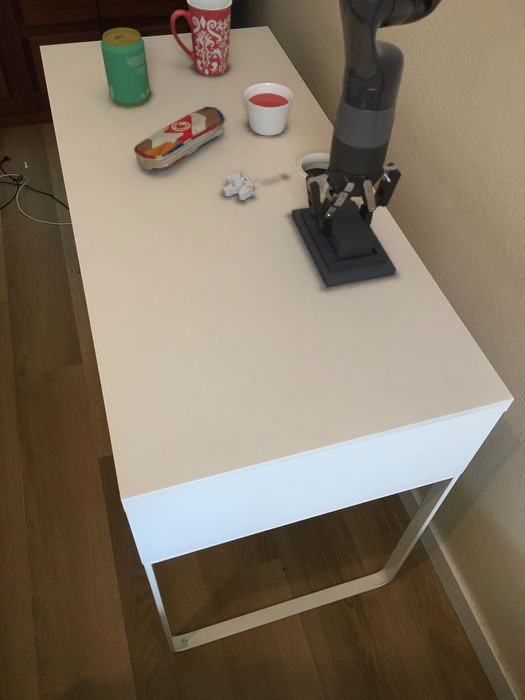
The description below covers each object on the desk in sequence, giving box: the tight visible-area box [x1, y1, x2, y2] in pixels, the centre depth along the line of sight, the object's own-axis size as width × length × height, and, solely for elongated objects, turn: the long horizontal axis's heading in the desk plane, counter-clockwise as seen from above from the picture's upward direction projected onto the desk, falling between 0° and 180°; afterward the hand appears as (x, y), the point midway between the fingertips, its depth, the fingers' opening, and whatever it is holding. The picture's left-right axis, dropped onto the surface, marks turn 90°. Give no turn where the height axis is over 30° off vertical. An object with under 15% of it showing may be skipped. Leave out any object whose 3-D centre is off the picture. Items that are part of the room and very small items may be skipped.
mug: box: [169, 0, 233, 77], centre depth 119 cm, size 13×9×14 cm
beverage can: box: [100, 27, 151, 108], centre depth 111 cm, size 8×8×12 cm
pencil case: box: [133, 106, 226, 171], centre depth 103 cm, size 11×20×5 cm, turn 128°
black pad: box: [318, 197, 375, 257], centre depth 88 cm, size 10×6×2 cm, turn 16°
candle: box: [244, 82, 294, 137], centre depth 108 cm, size 9×9×6 cm
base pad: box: [291, 200, 397, 288], centre depth 90 cm, size 17×11×2 cm, turn 16°
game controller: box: [223, 172, 287, 201], centre depth 99 cm, size 6×12×3 cm, turn 136°
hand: (343, 230), depth 88 cm, fingers closed on black pad, 5 cm apart
